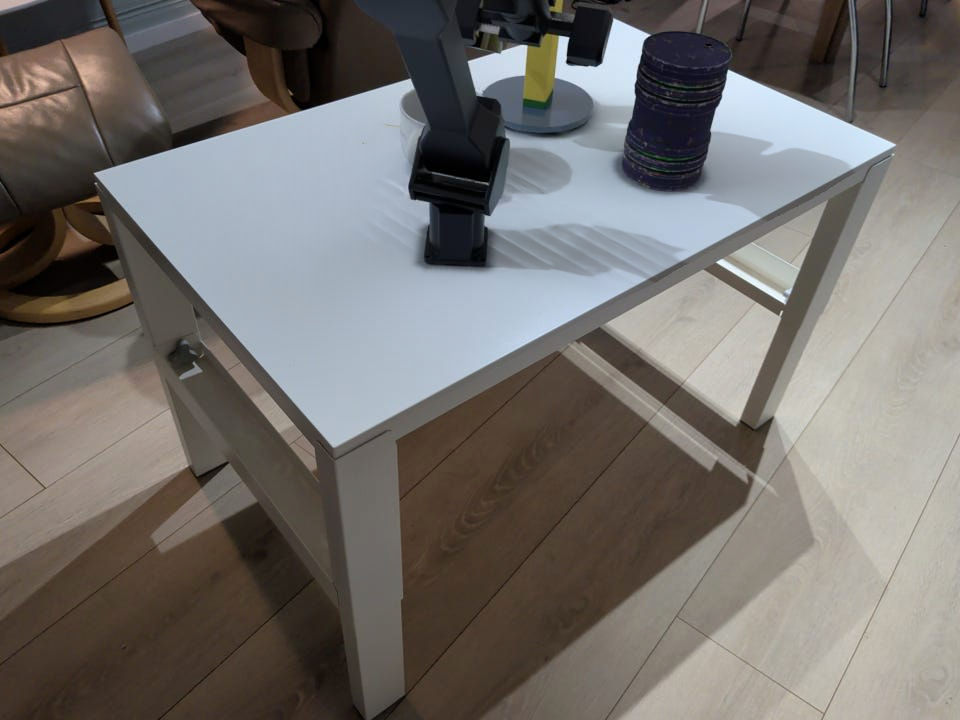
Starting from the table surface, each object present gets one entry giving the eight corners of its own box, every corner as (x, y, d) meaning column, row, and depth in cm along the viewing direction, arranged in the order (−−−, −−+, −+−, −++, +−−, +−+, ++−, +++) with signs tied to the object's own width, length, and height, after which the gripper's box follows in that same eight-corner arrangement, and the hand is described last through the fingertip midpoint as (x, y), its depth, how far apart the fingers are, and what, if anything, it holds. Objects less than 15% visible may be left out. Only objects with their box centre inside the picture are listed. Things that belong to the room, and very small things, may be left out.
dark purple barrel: (649, 198, 93) (675, 74, 82) (604, 158, 99) (624, 37, 89) (718, 181, 96) (752, 59, 86) (671, 143, 102) (697, 25, 92)
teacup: (438, 134, 102) (437, 74, 96) (508, 162, 97) (512, 100, 92) (365, 180, 93) (360, 117, 88) (439, 213, 89) (438, 148, 83)
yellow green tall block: (552, 95, 108) (563, -9, 98) (544, 109, 105) (554, 3, 95) (531, 91, 108) (540, -13, 99) (522, 105, 105) (530, 0, 96)
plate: (595, 140, 102) (597, 130, 101) (478, 134, 102) (479, 124, 101) (588, 87, 113) (589, 77, 112) (482, 82, 113) (483, 72, 112)
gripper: (624, -71, 82) (626, 4, 97) (452, -94, 86) (480, -19, 101) (597, 34, 82) (603, 92, 97) (427, 7, 85) (458, 67, 101)
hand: (535, 55), depth 99 cm, fingers open, 9 cm apart
